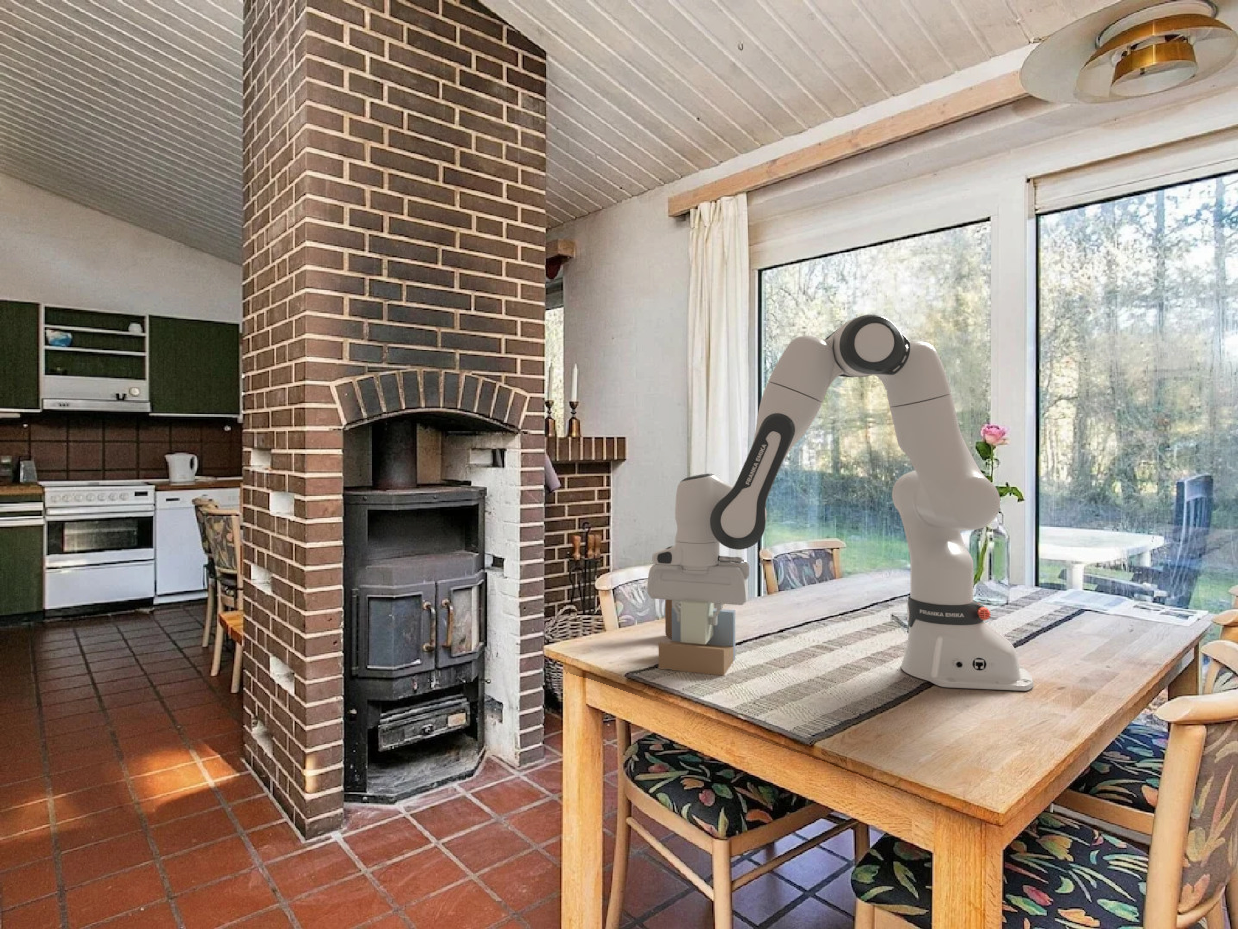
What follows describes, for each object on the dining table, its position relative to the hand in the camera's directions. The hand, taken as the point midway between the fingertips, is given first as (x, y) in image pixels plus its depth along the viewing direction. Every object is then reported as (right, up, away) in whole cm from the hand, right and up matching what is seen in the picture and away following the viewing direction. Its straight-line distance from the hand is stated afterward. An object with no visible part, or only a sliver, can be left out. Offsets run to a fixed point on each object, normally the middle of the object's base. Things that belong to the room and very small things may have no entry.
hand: (697, 623), depth 145 cm
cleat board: (0, -8, 0) cm, 8 cm away
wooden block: (-2, -8, +18) cm, 19 cm away
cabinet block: (0, -3, 0) cm, 3 cm away
